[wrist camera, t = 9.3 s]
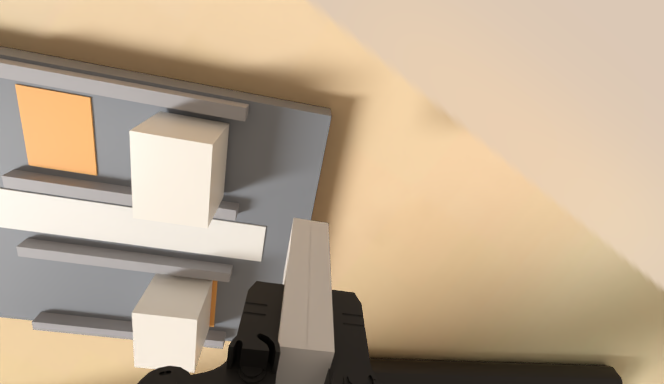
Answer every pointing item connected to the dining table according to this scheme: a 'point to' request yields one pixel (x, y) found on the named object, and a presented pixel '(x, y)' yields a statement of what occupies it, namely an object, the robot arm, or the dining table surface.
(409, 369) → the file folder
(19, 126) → the switch panel
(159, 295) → the inner tab
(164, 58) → the dining table surface
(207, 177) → the outer tab
